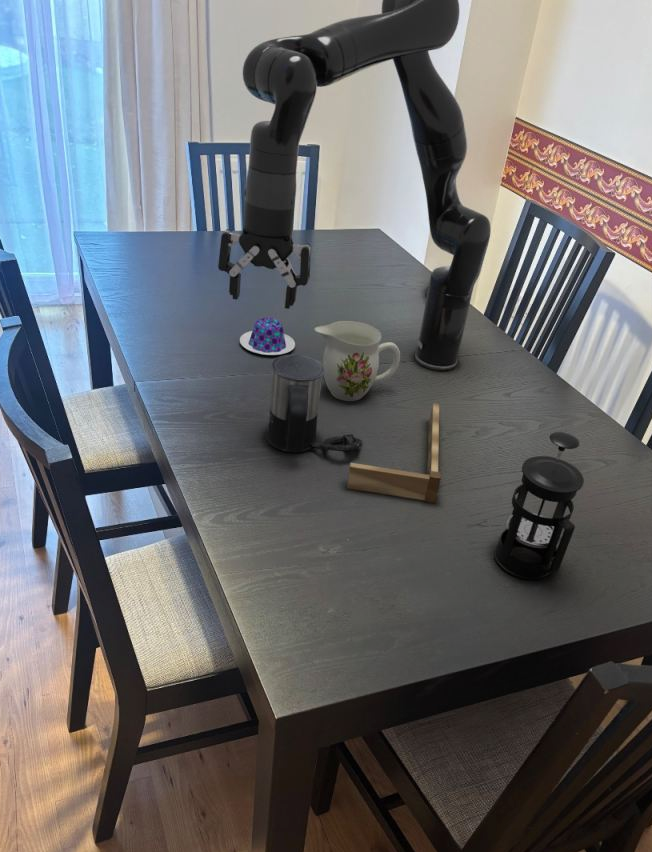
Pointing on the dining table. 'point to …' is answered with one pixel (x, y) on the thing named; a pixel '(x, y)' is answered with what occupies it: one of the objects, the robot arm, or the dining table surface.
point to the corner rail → (403, 473)
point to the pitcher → (353, 358)
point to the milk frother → (299, 406)
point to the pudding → (267, 338)
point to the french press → (535, 530)
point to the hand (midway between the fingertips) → (261, 302)
